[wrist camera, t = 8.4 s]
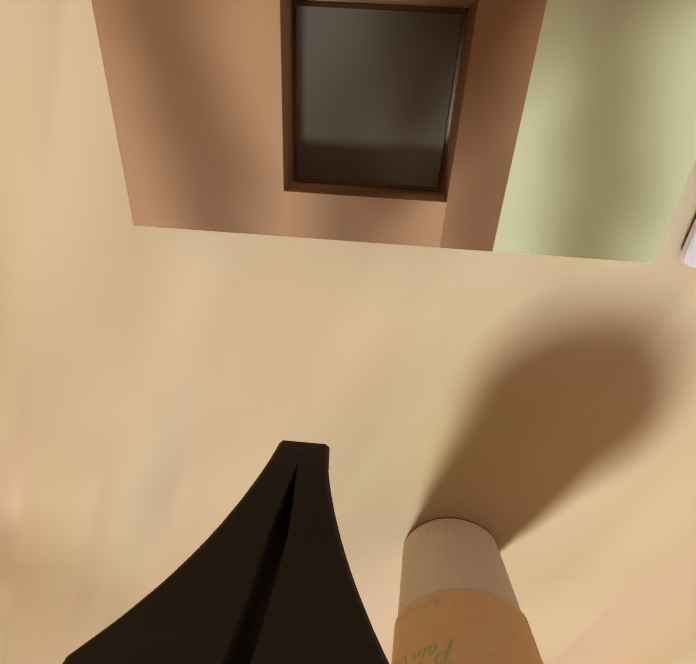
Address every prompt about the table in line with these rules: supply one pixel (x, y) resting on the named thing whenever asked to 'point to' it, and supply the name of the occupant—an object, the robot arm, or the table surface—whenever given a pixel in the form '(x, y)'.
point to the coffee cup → (458, 600)
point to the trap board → (408, 120)
